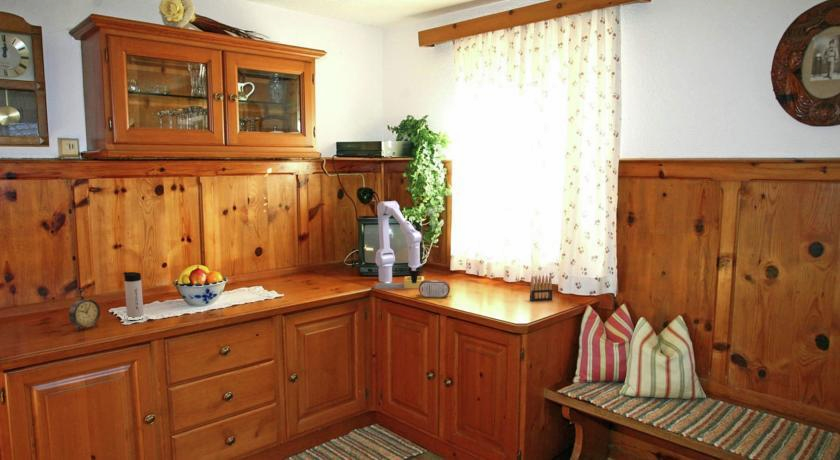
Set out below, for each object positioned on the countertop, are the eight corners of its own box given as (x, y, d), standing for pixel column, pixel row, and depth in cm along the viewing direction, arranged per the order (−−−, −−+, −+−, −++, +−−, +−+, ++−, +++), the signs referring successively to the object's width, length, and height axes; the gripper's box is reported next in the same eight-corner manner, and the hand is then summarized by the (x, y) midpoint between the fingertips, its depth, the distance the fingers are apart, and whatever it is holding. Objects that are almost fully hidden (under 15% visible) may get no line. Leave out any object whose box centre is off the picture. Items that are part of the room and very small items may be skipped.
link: (405, 284, 307) (405, 276, 307) (424, 284, 307) (424, 276, 307) (404, 288, 297) (404, 280, 297) (424, 288, 297) (423, 280, 297)
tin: (450, 296, 283) (450, 279, 282) (449, 298, 280) (449, 281, 279) (419, 296, 285) (419, 279, 284) (418, 297, 282) (418, 280, 281)
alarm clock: (76, 333, 227) (73, 292, 225) (67, 331, 229) (64, 291, 227) (102, 326, 237) (99, 286, 235) (93, 324, 239) (90, 285, 237)
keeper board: (376, 285, 310) (376, 283, 310) (426, 285, 309) (426, 283, 309) (374, 290, 297) (374, 288, 297) (426, 290, 296) (426, 288, 296)
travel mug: (130, 317, 250) (126, 271, 247) (146, 316, 250) (143, 270, 248) (123, 321, 243) (120, 273, 241) (140, 320, 244) (137, 273, 241)
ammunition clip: (550, 299, 278) (551, 274, 276) (552, 300, 276) (553, 275, 274) (529, 300, 276) (529, 275, 274) (530, 301, 274) (531, 276, 272)
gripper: (421, 258, 289) (422, 285, 291) (422, 253, 304) (422, 279, 305) (407, 258, 289) (407, 285, 291) (408, 253, 304) (408, 279, 305)
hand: (414, 282), depth 298 cm, fingers open, 4 cm apart
